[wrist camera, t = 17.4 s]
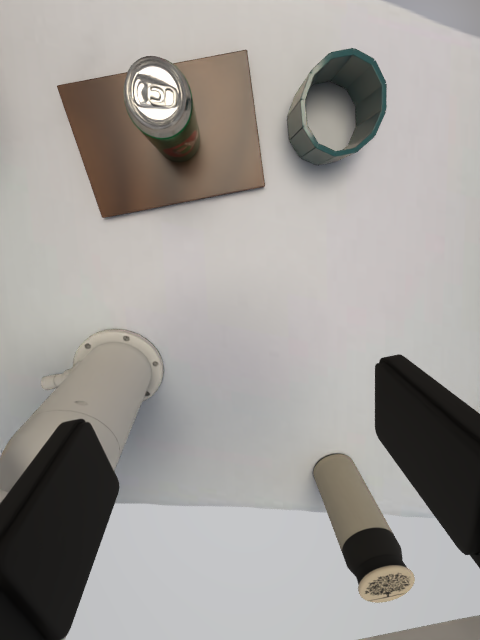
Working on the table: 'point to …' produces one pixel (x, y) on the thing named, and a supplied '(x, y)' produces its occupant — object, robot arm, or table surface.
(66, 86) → the walnut board
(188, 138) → the soda can
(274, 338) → the table surface
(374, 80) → the teal cup
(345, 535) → the travel mug
